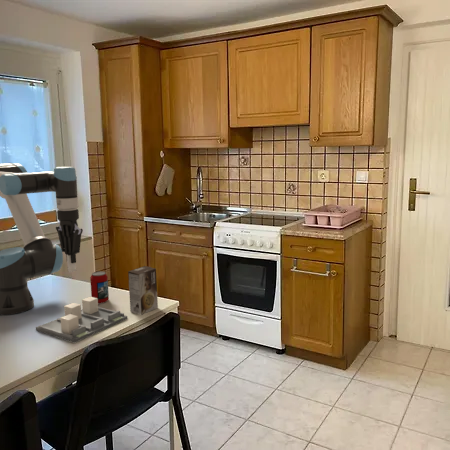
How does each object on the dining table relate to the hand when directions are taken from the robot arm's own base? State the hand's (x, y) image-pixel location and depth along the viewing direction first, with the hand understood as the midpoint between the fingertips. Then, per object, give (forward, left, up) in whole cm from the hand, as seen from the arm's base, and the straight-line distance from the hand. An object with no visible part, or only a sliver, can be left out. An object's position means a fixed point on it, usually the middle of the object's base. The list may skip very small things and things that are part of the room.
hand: (72, 270), depth 170 cm
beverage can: (-1, +13, -17) cm, 21 cm away
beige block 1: (+7, -7, -15) cm, 18 cm away
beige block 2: (+16, -15, -15) cm, 26 cm away
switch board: (+12, -7, -16) cm, 22 cm away
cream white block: (+7, +1, -15) cm, 17 cm away
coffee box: (+21, +15, -17) cm, 31 cm away
